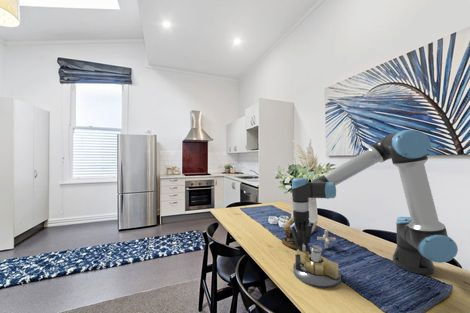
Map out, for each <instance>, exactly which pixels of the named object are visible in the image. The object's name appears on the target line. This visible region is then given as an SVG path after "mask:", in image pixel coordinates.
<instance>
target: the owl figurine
mask: <svg viewBox="0 0 470 313" xmlns="http://www.w3.org/2000/svg"><path fill="white" fill-rule="evenodd" d="M293 221H294V217H293V216H292V217H290V218H289V219H288V220H287V221H285V223H284V224H283V232H284V236H285V237H283V238H282V239H281V243H282V244H283V245H284V246H285V247H286V248H289V249H291V250H295V251H297V249H299V248H298V245H297V244H295V243H294V239H293V235H292V231H291V229H290V227H289V226H290V225H292V224H293ZM295 227H296V226H295ZM296 231H297V230H296Z"/></svg>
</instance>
